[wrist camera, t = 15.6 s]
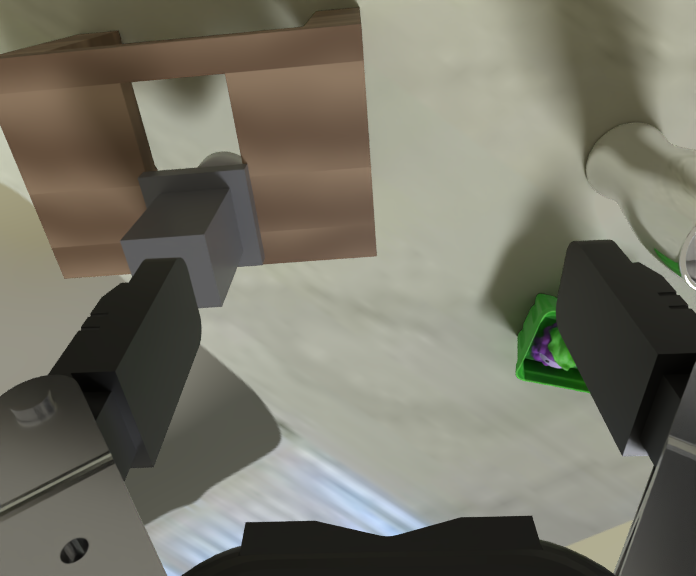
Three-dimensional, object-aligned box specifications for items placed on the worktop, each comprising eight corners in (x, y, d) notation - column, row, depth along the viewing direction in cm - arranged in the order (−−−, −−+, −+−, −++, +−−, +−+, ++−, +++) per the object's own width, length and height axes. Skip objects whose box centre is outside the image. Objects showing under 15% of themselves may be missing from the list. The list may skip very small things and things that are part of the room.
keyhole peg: (174, 142, 36) (91, 222, 24) (262, 134, 35) (220, 212, 24) (194, 224, 39) (130, 329, 28) (276, 218, 38) (245, 321, 27)
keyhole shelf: (77, 34, 38) (-27, 60, 28) (359, 7, 37) (361, 23, 26) (131, 206, 44) (64, 278, 34) (371, 187, 43) (376, 256, 33)
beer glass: (568, 143, 41) (663, 224, 29) (660, 98, 40) (807, 163, 27) (593, 216, 45) (689, 318, 32) (679, 177, 43) (819, 269, 30)
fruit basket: (499, 344, 52) (532, 432, 42) (535, 266, 47) (581, 344, 37) (608, 365, 53) (665, 455, 43) (653, 290, 48) (728, 372, 39)
